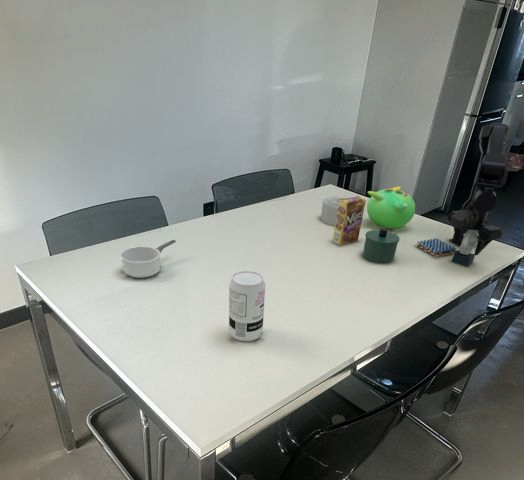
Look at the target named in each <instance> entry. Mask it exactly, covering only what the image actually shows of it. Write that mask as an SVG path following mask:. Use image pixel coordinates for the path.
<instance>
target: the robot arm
mask: <svg viewBox="0 0 524 480" xmlns="http://www.w3.org/2000/svg"><path fill="white" fill-rule="evenodd" d="M511 130H512V128H511V127H509V125H508V124H507V123H500V122H493V123H491V124H486V125H483V126H482V128H481V130H480V132H479V137H478V140H479V145H478V146H479V150H480V154H481V155H480V159H479V162H478V166H477V169H476V173H475V177H474V179H473V180H474V181H473V184H472V188H471V190H470V195H469V198H468V199H467V200H466V201H465V202H464V203H463V204H462V206H461V209H459V210H451V211H450V212H449V213H448V215H447V218H446V220H447V221H449V222H448V223H449V224H450V225H451V226H452V227H453V232H454V233H453V236H452V238H449V239H448V240H449V242H451V243H453V244H455V245H456V246H458V247H460V245H461V243H462V240H463V238H464V236H463V235H464V233H465V234H466V232H467V231H468V230H475V231H477V232H478V234H479V236H477V239H478V242H477V244H476V245H475V249H474V253H473V254H474V255H475V256H478V255H479V254H480V253H481V252H483V250H484V249H485V248H486V247H487V246H488V245H489V244H490V243H492V242H493V241H495V240H498V239H501V238H502V235H503V234H504V231H503V229H502V228H500V227H498V226H496V225H486V224H489V220H488V219H487V217H488V214H489V212H493V209H495V208H496V206H497V203H498V199H497V195H496V191H497V189H503V187H504V186H505V185H506V182H507V178H508V175H509V166H508V165H507V157H506V156H505V155H504V153H503V152H504V145H505V143H506V142H508V140H509V136H510V134H511Z"/></svg>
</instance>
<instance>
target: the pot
mask: <svg viewBox="0 0 524 480" xmlns="http://www.w3.org/2000/svg"><path fill="white" fill-rule="evenodd" d="M398 243H399V242H397V243H394V244H381V243H376V242H373V241H370V240H369V239H367V238H366V237H365V240H364V245H363V251H362V257H363V259H365V261H367V262H370V263H374V264H379V265H387V264H391V263H392V262H394V259H395V256H396V252H397V248H398Z"/></svg>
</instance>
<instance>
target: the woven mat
mask: <svg viewBox="0 0 524 480" xmlns="http://www.w3.org/2000/svg"><path fill="white" fill-rule="evenodd" d="M416 247H418V249H421V250H423V251H424V252H425V253H429V254H430V255H432V256H434V257H435V258H438V257H440V256H441V257H442V256H448V255H450V254H451V255H454V253H455V252H456V251H458V250H457V249H458V248H457V247H455V246H453V245H451V244H449V243H447V242H446V241H443V240H440V239H439V238H435V237H434V238H433V239H432V238H430V239H424V240H420V241H417V243H416Z"/></svg>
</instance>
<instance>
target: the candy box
mask: <svg viewBox="0 0 524 480" xmlns="http://www.w3.org/2000/svg"><path fill="white" fill-rule="evenodd" d="M366 203H367V199H366V198H365V197H362V196H359V195H358V196H352V197H346V199H340V202H339V207H338V213H337V219H336V225H335V226H334V229H333V230H334V231H333V235H332V236H333V237H332V242H333V243H334V244H336V245H338V246H342V245H346V244H350V243H351V244H352V243H355V242H359V237H360V236H359V235H360V232H361V227H362V223H363V219H364V218H363V217H364V213H365V207H366Z"/></svg>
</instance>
